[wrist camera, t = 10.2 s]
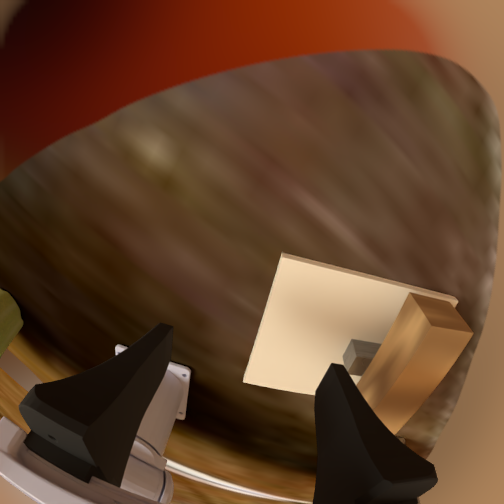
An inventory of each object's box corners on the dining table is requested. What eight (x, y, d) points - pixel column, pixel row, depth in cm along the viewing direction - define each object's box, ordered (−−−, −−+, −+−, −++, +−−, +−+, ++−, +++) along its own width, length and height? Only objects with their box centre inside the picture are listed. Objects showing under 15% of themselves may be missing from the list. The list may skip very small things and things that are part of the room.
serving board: (390, 397, 26) (392, 402, 25) (244, 376, 26) (243, 382, 25) (454, 296, 21) (458, 301, 20) (281, 252, 21) (281, 256, 20)
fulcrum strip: (407, 365, 23) (414, 381, 21) (342, 356, 23) (345, 374, 21) (417, 349, 22) (425, 365, 20) (351, 338, 22) (356, 356, 20)
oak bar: (370, 419, 23) (377, 451, 20) (334, 416, 23) (337, 451, 20) (449, 301, 18) (473, 333, 14) (409, 292, 18) (431, 326, 14)
